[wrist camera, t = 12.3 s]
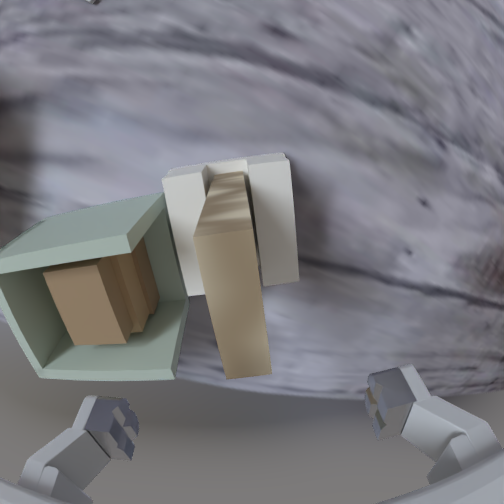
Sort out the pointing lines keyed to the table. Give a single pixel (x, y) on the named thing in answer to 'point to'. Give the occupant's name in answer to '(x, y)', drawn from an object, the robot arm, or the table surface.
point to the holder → (261, 210)
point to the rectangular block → (232, 277)
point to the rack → (98, 293)
